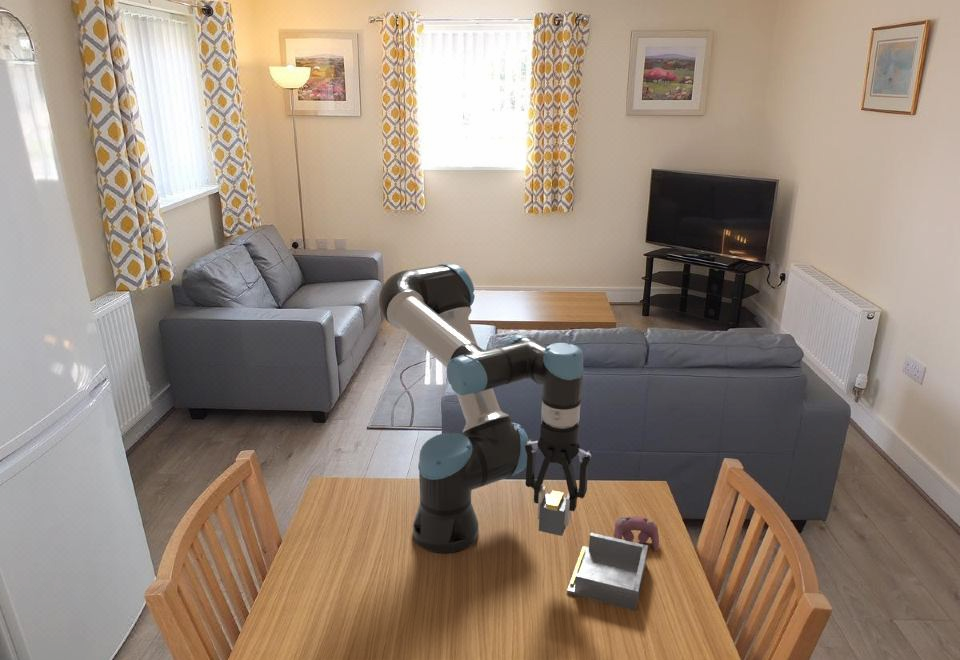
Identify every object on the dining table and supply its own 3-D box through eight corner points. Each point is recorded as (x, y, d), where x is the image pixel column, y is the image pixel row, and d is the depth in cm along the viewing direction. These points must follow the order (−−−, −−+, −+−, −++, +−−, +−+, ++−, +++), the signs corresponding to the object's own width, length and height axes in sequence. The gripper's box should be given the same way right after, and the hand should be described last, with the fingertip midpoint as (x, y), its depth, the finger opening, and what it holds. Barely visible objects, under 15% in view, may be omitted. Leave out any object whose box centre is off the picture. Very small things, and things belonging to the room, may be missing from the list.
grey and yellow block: (538, 531, 143) (539, 502, 141) (544, 517, 148) (546, 489, 146) (561, 536, 142) (563, 507, 140) (567, 522, 146) (569, 493, 144)
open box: (567, 593, 142) (568, 574, 140) (582, 548, 155) (584, 531, 153) (635, 610, 137) (638, 591, 136) (645, 563, 150) (648, 545, 149)
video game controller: (656, 548, 158) (657, 516, 159) (659, 552, 153) (660, 520, 154) (612, 545, 159) (613, 514, 159) (615, 549, 154) (616, 517, 155)
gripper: (510, 420, 136) (507, 519, 144) (601, 437, 130) (593, 539, 139) (521, 404, 143) (518, 499, 151) (609, 420, 137) (600, 518, 145)
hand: (554, 518), depth 145 cm, fingers closed on grey and yellow block, 5 cm apart
